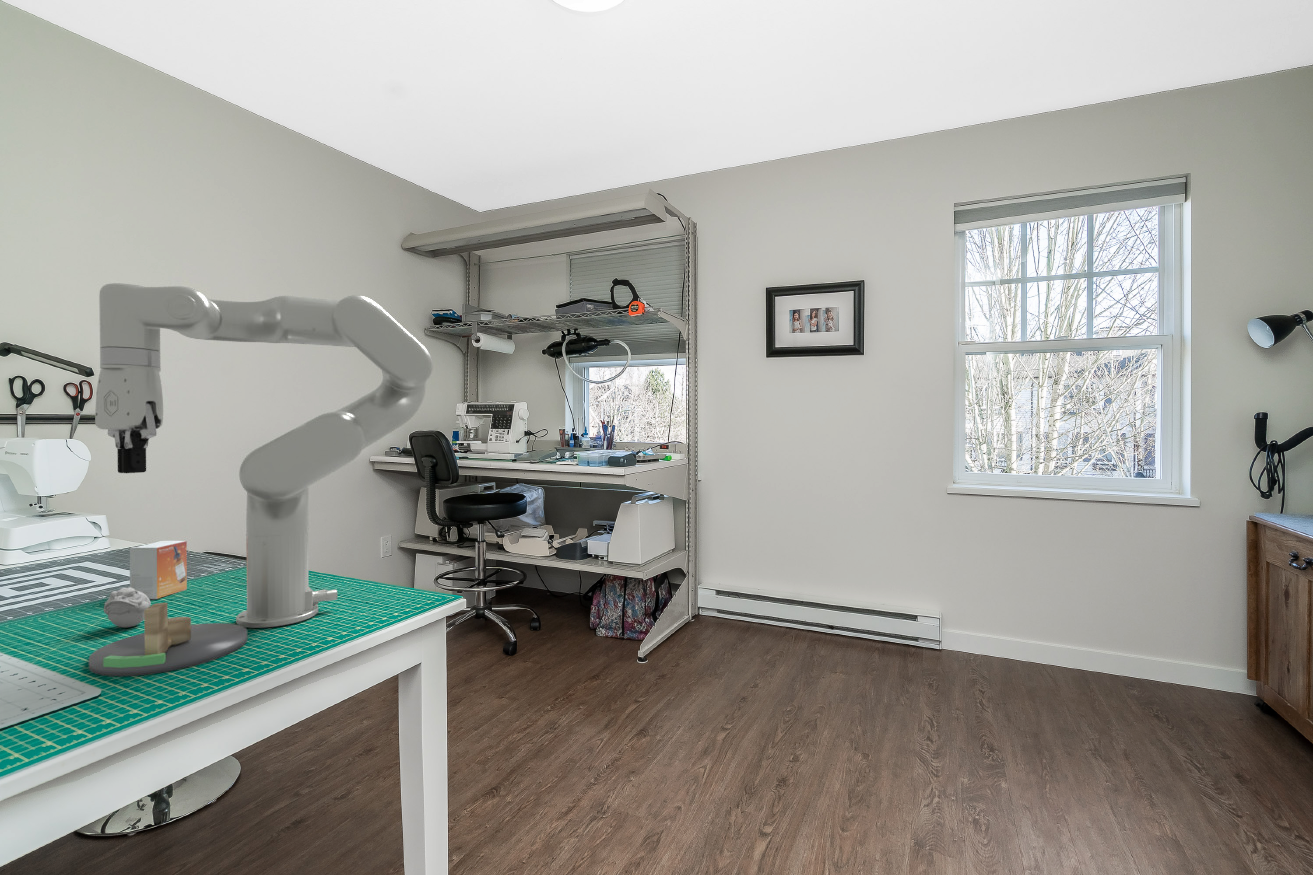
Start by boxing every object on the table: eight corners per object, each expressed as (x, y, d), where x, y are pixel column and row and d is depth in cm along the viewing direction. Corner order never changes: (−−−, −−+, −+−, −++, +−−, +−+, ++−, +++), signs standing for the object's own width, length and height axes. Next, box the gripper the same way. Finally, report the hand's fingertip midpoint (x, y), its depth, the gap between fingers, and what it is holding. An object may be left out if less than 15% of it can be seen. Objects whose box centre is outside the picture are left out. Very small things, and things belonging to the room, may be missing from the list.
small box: (156, 600, 121) (156, 547, 120) (128, 599, 121) (128, 547, 120) (188, 589, 129) (187, 540, 128) (162, 589, 129) (161, 540, 128)
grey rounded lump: (93, 635, 100) (93, 593, 100) (118, 622, 107) (118, 583, 107) (137, 632, 102) (137, 591, 102) (159, 619, 108) (159, 580, 108)
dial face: (241, 622, 107) (241, 609, 107) (253, 654, 92) (253, 638, 92) (95, 647, 95) (94, 632, 95) (81, 688, 80) (81, 670, 80)
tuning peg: (161, 637, 94) (161, 593, 94) (195, 634, 96) (194, 590, 96) (132, 660, 85) (131, 611, 85) (170, 656, 87) (169, 608, 87)
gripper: (75, 360, 98) (76, 472, 99) (132, 357, 93) (134, 475, 94) (129, 365, 106) (130, 469, 106) (185, 362, 100) (186, 472, 101)
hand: (132, 472), depth 100 cm, fingers closed
